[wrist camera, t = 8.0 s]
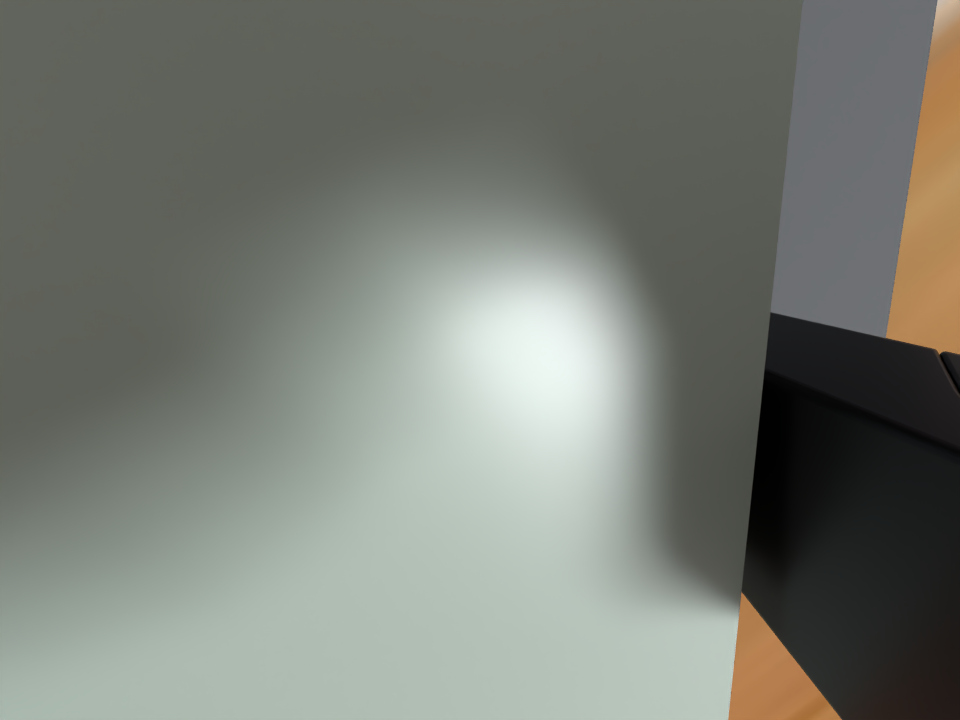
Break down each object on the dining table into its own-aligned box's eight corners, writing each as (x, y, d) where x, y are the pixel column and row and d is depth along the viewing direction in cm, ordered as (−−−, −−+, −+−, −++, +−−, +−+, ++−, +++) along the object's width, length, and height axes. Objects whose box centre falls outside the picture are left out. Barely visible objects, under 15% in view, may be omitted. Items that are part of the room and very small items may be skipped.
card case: (557, 567, 13) (717, 820, 9) (165, 710, 11) (196, 1062, 8) (513, -160, 8) (818, -146, 4) (-197, -67, 6) (-487, 49, 3)
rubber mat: (957, -360, 10) (993, -367, 10) (854, 398, 16) (873, 413, 16) (-1367, -34, 6) (-1475, -23, 5) (-310, 839, 12) (-324, 875, 11)
